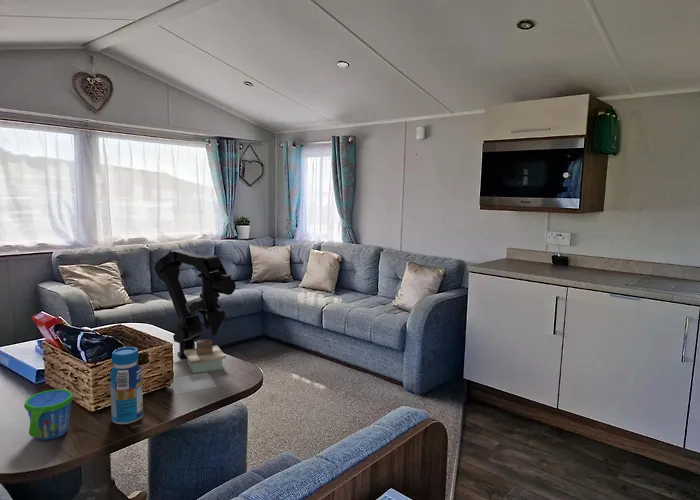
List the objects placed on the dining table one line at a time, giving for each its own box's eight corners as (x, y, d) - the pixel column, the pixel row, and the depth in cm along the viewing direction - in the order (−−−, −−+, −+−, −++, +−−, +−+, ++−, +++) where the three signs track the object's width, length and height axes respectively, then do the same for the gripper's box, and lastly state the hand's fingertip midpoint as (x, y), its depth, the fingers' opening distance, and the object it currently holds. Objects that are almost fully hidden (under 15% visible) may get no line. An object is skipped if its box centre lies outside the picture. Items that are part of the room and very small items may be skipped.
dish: (187, 365, 173) (187, 353, 173) (215, 360, 178) (214, 349, 178) (193, 375, 165) (193, 362, 164) (222, 370, 170) (222, 358, 169)
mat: (168, 380, 160) (168, 378, 160) (207, 373, 167) (207, 372, 167) (175, 395, 149) (175, 394, 149) (216, 387, 156) (216, 386, 156)
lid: (184, 352, 173) (183, 338, 172) (217, 347, 179) (216, 333, 178) (191, 364, 163) (190, 348, 162) (225, 358, 169) (225, 343, 168)
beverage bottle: (104, 420, 133) (101, 352, 130) (130, 408, 140) (128, 343, 137) (124, 428, 129) (121, 358, 126) (150, 415, 136) (148, 348, 133)
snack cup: (52, 451, 117) (50, 412, 116) (10, 449, 118) (7, 411, 116) (87, 419, 133) (86, 385, 131) (50, 418, 133) (48, 384, 132)
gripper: (181, 287, 176) (182, 327, 178) (192, 298, 160) (193, 343, 162) (212, 284, 181) (212, 324, 183) (225, 295, 165) (226, 338, 168)
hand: (210, 332), depth 174 cm, fingers open, 9 cm apart
